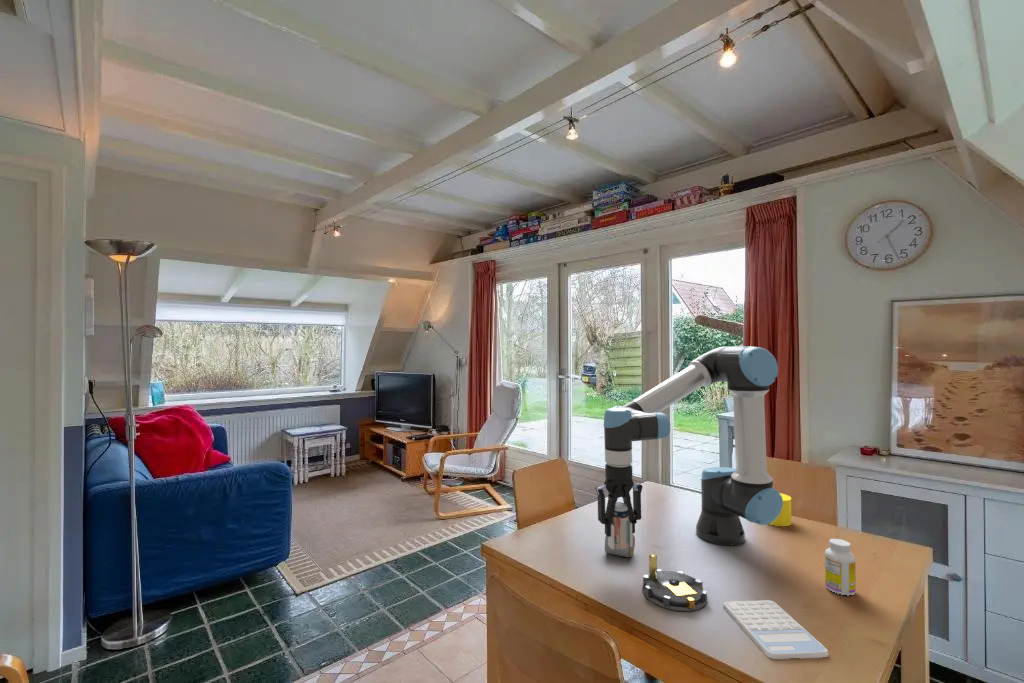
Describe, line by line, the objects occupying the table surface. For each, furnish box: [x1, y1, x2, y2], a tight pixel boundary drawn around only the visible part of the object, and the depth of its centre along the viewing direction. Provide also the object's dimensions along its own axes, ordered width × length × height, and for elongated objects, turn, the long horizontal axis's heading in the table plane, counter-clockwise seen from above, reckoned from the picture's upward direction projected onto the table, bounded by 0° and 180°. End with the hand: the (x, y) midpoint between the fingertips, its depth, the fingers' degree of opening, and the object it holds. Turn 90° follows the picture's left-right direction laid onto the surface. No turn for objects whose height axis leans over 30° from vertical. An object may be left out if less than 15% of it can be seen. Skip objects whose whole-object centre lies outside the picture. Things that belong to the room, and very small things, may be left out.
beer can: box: [612, 501, 629, 550], centre depth 131 cm, size 5×5×12 cm
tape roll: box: [769, 492, 792, 527], centre depth 171 cm, size 10×10×9 cm
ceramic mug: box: [604, 533, 636, 558], centre depth 146 cm, size 11×8×8 cm
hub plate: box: [642, 584, 708, 613], centre depth 122 cm, size 16×16×1 cm
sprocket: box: [642, 553, 708, 609], centre depth 122 cm, size 16×16×8 cm
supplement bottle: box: [824, 538, 857, 597], centre depth 124 cm, size 7×7×13 cm
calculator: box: [722, 599, 829, 660], centre depth 107 cm, size 13×20×2 cm, turn 3°
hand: (620, 545), depth 131 cm, fingers closed on beer can, 5 cm apart
